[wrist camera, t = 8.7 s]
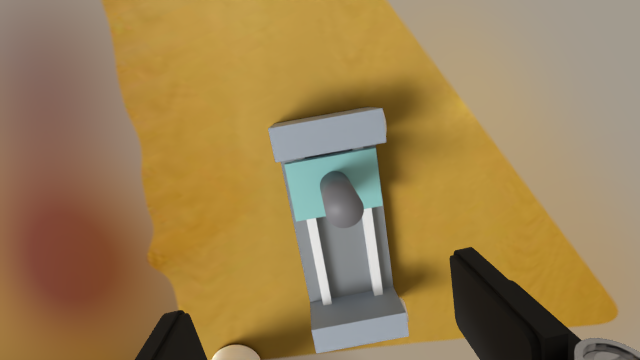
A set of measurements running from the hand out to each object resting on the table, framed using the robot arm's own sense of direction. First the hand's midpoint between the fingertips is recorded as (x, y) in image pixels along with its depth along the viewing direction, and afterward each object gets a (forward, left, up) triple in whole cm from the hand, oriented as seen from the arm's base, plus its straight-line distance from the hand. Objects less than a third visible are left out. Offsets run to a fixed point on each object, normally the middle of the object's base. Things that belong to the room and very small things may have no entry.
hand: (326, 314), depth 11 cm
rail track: (+7, +2, -23) cm, 24 cm away
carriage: (+1, +2, -21) cm, 21 cm away
